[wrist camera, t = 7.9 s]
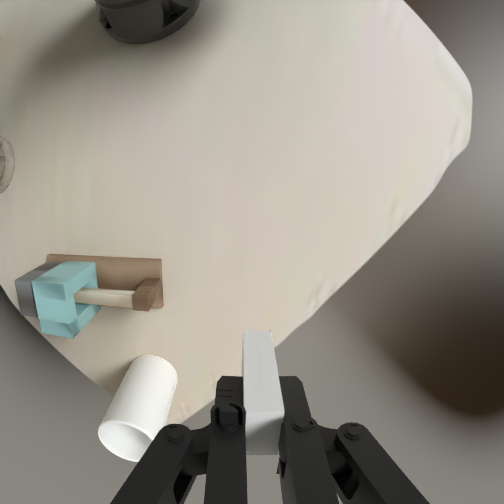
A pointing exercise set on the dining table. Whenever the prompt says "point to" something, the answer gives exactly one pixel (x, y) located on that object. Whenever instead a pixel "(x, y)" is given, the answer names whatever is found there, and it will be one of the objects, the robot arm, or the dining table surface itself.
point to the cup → (139, 407)
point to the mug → (6, 163)
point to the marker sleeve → (64, 298)
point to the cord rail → (104, 283)
